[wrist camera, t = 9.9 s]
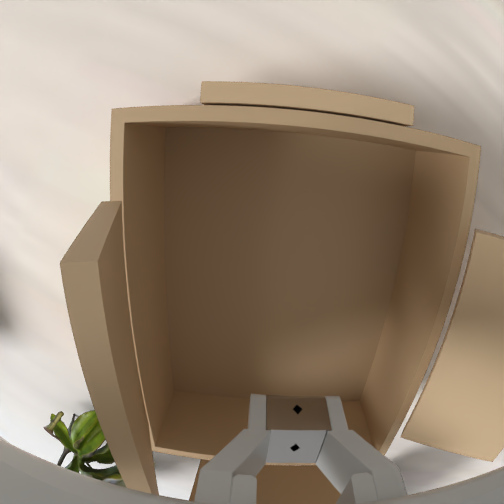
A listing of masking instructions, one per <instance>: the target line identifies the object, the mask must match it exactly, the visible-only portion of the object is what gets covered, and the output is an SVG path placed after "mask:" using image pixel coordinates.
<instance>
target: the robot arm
mask: <svg viewBox="0 0 504 504" xmlns="http://www.w3.org/2000/svg"><path fill="white" fill-rule="evenodd" d="M266 463H316V465H317V466H318V468H319V469H320V470H321V471H322V472H323V474H324V475H325V476H326V477H327V478H328V480H329V481H330V482H331V483H332V484H333V486H334V487H335V488H336V489H337V490H338V491H339V493H340V494H341V495H340V497H339V499H338V500H337V502H336V504H504V466H503V467H501V468H498V469H496V470H493V471H491V472H488V473H485V474H482V475H479V476H477V477H474V478H471V479H468V480H465V481H461V482H458V483H455V484H451V485H448V486H444V487H441V488H437V489H433V490H429V491H425V492H421V493H416V494H412V495H407V492H406V489H405V486H404V482H403V479H402V476H401V473H400V470H399V467H398V466H396V465H395V464H394V463H393V462H391V461H390V460H389V459H388V458H386V457H385V456H384V455H383V454H381V453H380V452H379V451H378V450H376V449H375V448H374V447H373V446H372V445H370V444H369V443H368V442H367V441H365V440H364V439H363V438H362V437H361V436H359V435H358V434H357V433H356V432H355V431H353V430H348V426H347V422H346V418H345V414H344V410H343V406H342V402H341V398H340V397H339V396H280V395H261V394H251V395H250V405H249V416H248V428H247V429H243V430H242V431H241V432H240V433H239V434H238V435H237V436H236V437H235V438H234V439H233V440H232V441H231V442H230V443H228V444H227V445H226V446H225V447H224V448H223V449H222V450H221V451H220V452H219V453H218V454H217V455H216V456H214V457H213V458H212V459H211V460H210V461H209V462H208V463H207V464H206V465H204V466H203V467H202V468H201V469H200V473H199V478H198V484H197V489H196V494H195V499H194V501H188V500H182V499H176V498H171V497H165V496H160V495H155V494H151V493H146V492H142V491H138V490H134V489H130V488H126V487H122V486H118V485H115V484H111V483H108V482H104V481H101V480H98V479H95V478H92V477H89V476H86V475H83V474H80V473H77V472H74V471H71V470H69V469H66V468H63V467H61V466H58V465H56V464H53V463H51V462H48V461H46V460H44V459H41V458H39V457H37V456H34V455H32V454H30V453H28V452H26V451H24V450H21V449H19V448H17V447H15V446H13V445H11V444H9V443H7V442H5V441H3V440H2V439H0V504H256V493H257V479H256V478H255V477H256V475H257V474H258V473H259V472H260V470H261V469H262V468H263V467H264V465H265V464H266Z"/></svg>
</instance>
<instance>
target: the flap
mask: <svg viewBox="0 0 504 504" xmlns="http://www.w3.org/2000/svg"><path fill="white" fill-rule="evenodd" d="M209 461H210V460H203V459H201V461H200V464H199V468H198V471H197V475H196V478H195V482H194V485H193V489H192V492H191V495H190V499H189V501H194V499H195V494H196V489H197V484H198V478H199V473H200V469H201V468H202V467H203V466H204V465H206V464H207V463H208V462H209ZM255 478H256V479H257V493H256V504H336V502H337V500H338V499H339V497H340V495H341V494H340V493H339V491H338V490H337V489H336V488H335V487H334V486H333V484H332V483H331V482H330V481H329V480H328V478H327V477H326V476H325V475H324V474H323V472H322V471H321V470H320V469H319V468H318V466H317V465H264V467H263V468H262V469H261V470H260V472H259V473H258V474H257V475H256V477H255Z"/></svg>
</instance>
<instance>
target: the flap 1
mask: <svg viewBox="0 0 504 504" xmlns="http://www.w3.org/2000/svg"><path fill="white" fill-rule="evenodd" d="M60 268H61V274H62V281H63V287H64V292H65V298H66V303H67V308H68V313H69V318H70V323H71V327H72V332H73V336H74V340H75V344H76V348H77V352H78V356H79V360H80V363H81V367H82V371H83V374H84V378H85V381H86V384H87V387H88V391H89V394H90V397H91V400H92V403H93V406H94V409H95V412H96V415H97V418H98V420H99V423H100V426H101V429H102V431H103V434H104V436H105V439H106V442H107V444H108V447H109V449H110V451H111V454H112V456H113V459H114V461H115V463H116V466H117V468H118V470H119V472H120V474H121V477H122V479H123V481H124V483H125V485H126V487H127V488H130V489H134V490H138V491H142V492H146V493H151V494H155V495H159V493H158V487H157V481H156V475H155V468H154V462H153V455H152V447H151V439H150V431H149V423H148V419H147V414H146V409H145V404H144V400H143V395H142V389H141V384H140V379H139V373H138V367H137V361H136V355H135V349H134V342H133V335H132V327H131V320H130V312H129V303H128V293H127V283H126V272H125V259H124V244H123V224H122V201H106V202H101V203H100V205H99V206H98V207H97V209H96V210H95V211H94V213H93V214H92V216H91V217H90V218H89V220H88V221H87V223H86V224H85V226H84V227H83V228H82V230H81V231H80V233H79V234H78V236H77V237H76V239H75V240H74V242H73V243H72V245H71V246H70V248H69V249H68V251H67V252H66V254H65V255H64V257H63V259H62V260H61V262H60Z"/></svg>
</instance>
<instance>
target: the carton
mask: <svg viewBox="0 0 504 504" xmlns="http://www.w3.org/2000/svg"><path fill="white" fill-rule="evenodd" d="M200 102H201V103H202V104H204V105H171V106H145V107H129V108H116V109H112V114H111V135H110V201H122V224H123V244H124V259H125V272H126V283H127V293H128V303H129V312H130V320H131V327H132V335H133V342H134V349H135V355H136V361H137V367H138V373H139V379H140V384H141V389H142V395H143V400H144V404H145V409H146V414H147V419H148V423H149V431H150V439H151V447H152V451H155V452H161V453H166V454H172V455H178V456H184V457H190V458H198V459H205V460H211V459H212V458H213V457H214V456H216V455H217V454H218V453H219V452H220V451H221V450H222V449H223V448H224V447H225V446H226V445H227V444H228V443H230V442H231V441H232V440H233V439H234V438H235V437H236V436H237V435H238V434H239V433H240V432H241V431H242V430H243V429H247V428H248V416H249V405H250V395H251V394H261V395H280V396H339V397H340V398H341V402H342V406H343V410H344V414H345V418H346V422H347V426H348V430H353V431H355V432H356V433H357V434H358V435H359V436H361V437H362V438H363V439H364V440H365V441H367V442H368V443H369V444H370V445H372V446H373V447H374V448H375V449H376V450H378V451H379V452H380V453H381V454H383V455H385V454H386V452H387V450H388V448H389V446H390V445H391V443H392V441H393V439H394V437H395V436H396V434H397V432H398V430H399V428H400V426H401V424H402V422H403V420H404V418H405V416H406V414H407V412H408V410H409V408H410V406H411V404H412V402H413V400H414V398H415V395H416V393H417V391H418V389H419V387H420V384H421V382H422V380H423V377H424V375H425V373H426V370H427V368H428V365H429V363H430V360H431V358H432V355H433V353H434V350H435V348H436V345H437V342H438V340H439V337H440V334H441V331H442V328H443V325H444V322H445V319H446V316H447V313H448V310H449V307H450V304H451V301H452V297H453V294H454V291H455V287H456V284H457V280H458V276H459V272H460V269H461V265H462V261H463V256H464V252H465V248H466V243H467V239H468V234H469V229H470V224H471V219H472V213H473V207H474V201H475V195H476V188H477V180H478V172H479V163H480V152H481V146H478V145H475V144H472V143H468V142H465V141H461V140H458V139H454V138H450V137H446V136H443V135H439V134H435V133H431V132H426V131H422V130H418V129H413V128H409V127H404V126H413V120H414V106H412V105H408V104H404V103H400V102H395V101H390V100H386V99H381V98H376V97H370V96H365V95H359V94H353V93H347V92H341V91H334V90H327V89H319V88H311V87H302V86H292V85H281V84H267V83H250V82H210V81H206V82H202V84H201V98H200ZM265 465H316V463H266V464H265Z"/></svg>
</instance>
